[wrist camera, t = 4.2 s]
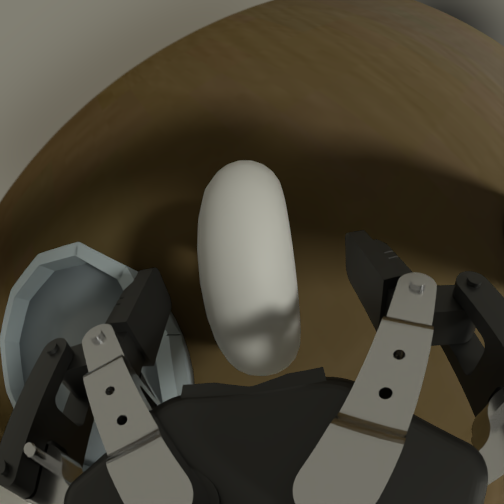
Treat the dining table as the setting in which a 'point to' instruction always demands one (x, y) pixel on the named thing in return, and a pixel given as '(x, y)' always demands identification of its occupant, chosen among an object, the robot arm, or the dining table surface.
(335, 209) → the dining table surface
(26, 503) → the milk
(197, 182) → the dining table surface
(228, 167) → the donut
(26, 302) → the bowl
